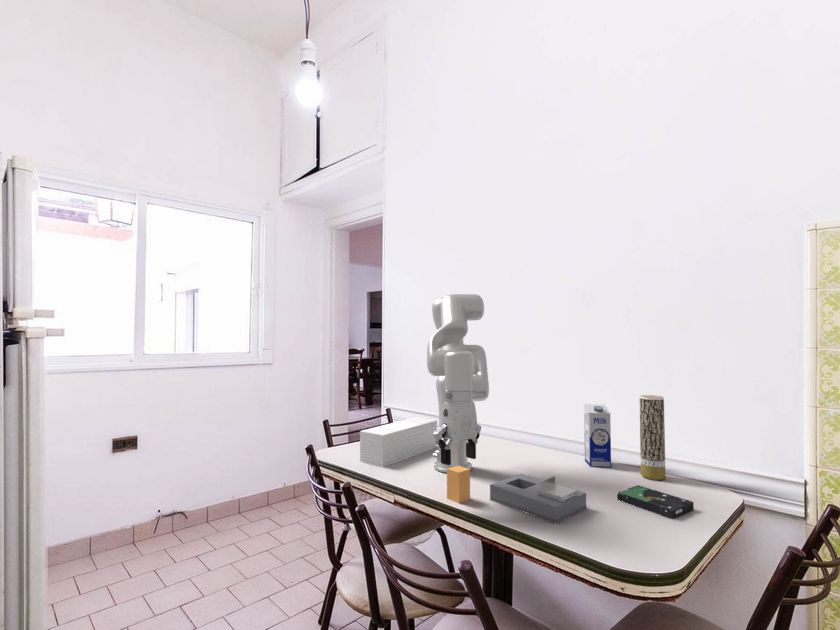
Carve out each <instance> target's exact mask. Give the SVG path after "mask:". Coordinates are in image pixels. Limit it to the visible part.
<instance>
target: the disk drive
mask: <svg viewBox="0 0 840 630" xmlns="http://www.w3.org/2000/svg"><path fill="white" fill-rule="evenodd" d="M616 497H617V501H619V500H620V501H619V502H622V501H623V502H622V503H624V502H625V504H627V503H628V504H627V505H630V504H631V505H630V506H633V505H634V507H636V508H639V509H641V508H642V510H644V509H645V511H647V510H648V511H647V512H650V513H654V514H656V515H659V516H662V517H664V518H667V519H671V520H674V519H677V518H680V517H683V516H685V515H686V514H688V513H691V512H694V501H692V500H689V499H685V498H681V497H679V496H675V495H672V494H668V493H665V492H661V491H658V490H656V489H653V488H652V489H651V488H649V487H646V486H643V485H639V484H637V485H635V486H632V487H629V488H627V489H626V490H624V489H623V490H621V491H618V493H617V495H616Z"/></svg>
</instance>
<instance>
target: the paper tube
mask: <svg viewBox="0 0 840 630" xmlns="http://www.w3.org/2000/svg"><path fill="white" fill-rule="evenodd" d="M665 428H666V427H665V398H664V396H661V395H651V394H642V395H639V440H640V441H639V443H640V446H639V447H640V449H639V451H640V452H639V453H640V474H641V476H642V477H643V478H645V479H648V480H652V481H654V480H655V481H663V480H665V479H666V443H665V442H666V441H665V440H666V439H665V438H666V434H665V432H666V431H665V430H666V429H665Z"/></svg>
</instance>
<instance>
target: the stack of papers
mask: <svg viewBox="0 0 840 630" xmlns="http://www.w3.org/2000/svg"><path fill="white" fill-rule="evenodd" d="M437 425H438V420H437V419H432V418H431V419H430V418H424V417H417V416H414V417H410V418H406V419H401V420H400V421H399V420H398V421H395V422H391V423H387V424H386V423H385V424H382V425H379V426H375V427H371V428H367V429H362V430H360V431H359V450H360V451H359V462H361V463H364V464H369V465H374V466H378V467H382V468H385V467H386V466H390V465H392V464H395V463H398V462H400V461H403V460H405V459H408V458H411V457H413V456H417V455H419V454H421V453H425V452H427V451H430V450H433V449H436V448H438V444H437V443H436V440H435V437H434V433H435V432H436V431H437V430H438V426H437Z"/></svg>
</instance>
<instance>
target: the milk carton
mask: <svg viewBox="0 0 840 630" xmlns="http://www.w3.org/2000/svg"><path fill="white" fill-rule="evenodd" d="M583 408H584V409H583V411H584V412H583V413H584V414H583V415H584V425H583V427H584V462H585V463H586V464H587V465H588V466H589V467H590V468H591V467H592V468H612V446H611V444H612V442H611V440H612V439H611V438H612V436H611V435H612V434H611V412H610V410H609V409H608V407H607V406H606V405H605V404H591V403H590V404H586V403H585V404H583Z"/></svg>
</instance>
